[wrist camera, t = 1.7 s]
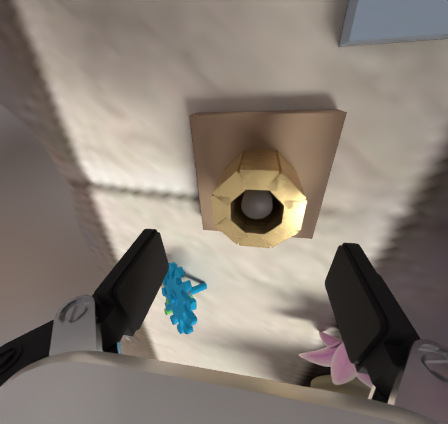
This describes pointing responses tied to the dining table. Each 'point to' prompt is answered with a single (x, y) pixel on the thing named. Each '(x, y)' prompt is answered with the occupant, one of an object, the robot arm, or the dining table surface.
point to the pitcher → (341, 386)
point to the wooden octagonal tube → (259, 180)
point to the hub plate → (394, 21)
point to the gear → (180, 298)
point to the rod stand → (267, 139)
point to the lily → (336, 361)
